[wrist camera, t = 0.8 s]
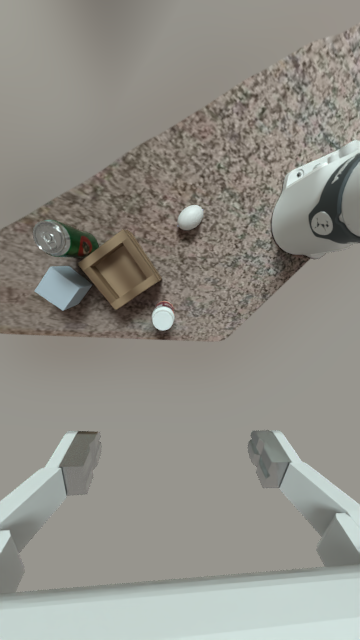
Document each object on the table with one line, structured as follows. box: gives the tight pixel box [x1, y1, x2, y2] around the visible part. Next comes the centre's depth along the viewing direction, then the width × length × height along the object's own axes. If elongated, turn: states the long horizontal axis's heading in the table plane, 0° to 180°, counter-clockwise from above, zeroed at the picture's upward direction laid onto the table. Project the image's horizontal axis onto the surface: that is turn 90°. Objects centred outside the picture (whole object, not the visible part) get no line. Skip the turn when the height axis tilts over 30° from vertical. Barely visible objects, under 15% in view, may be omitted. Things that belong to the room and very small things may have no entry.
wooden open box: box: [78, 229, 162, 310], centre depth 35 cm, size 11×11×6 cm
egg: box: [177, 205, 204, 230], centre depth 34 cm, size 4×6×4 cm, turn 120°
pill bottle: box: [152, 301, 175, 331], centre depth 37 cm, size 5×5×8 cm
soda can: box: [33, 220, 98, 258], centre depth 30 cm, size 5×5×12 cm
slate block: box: [35, 266, 93, 311], centre depth 36 cm, size 6×6×6 cm
